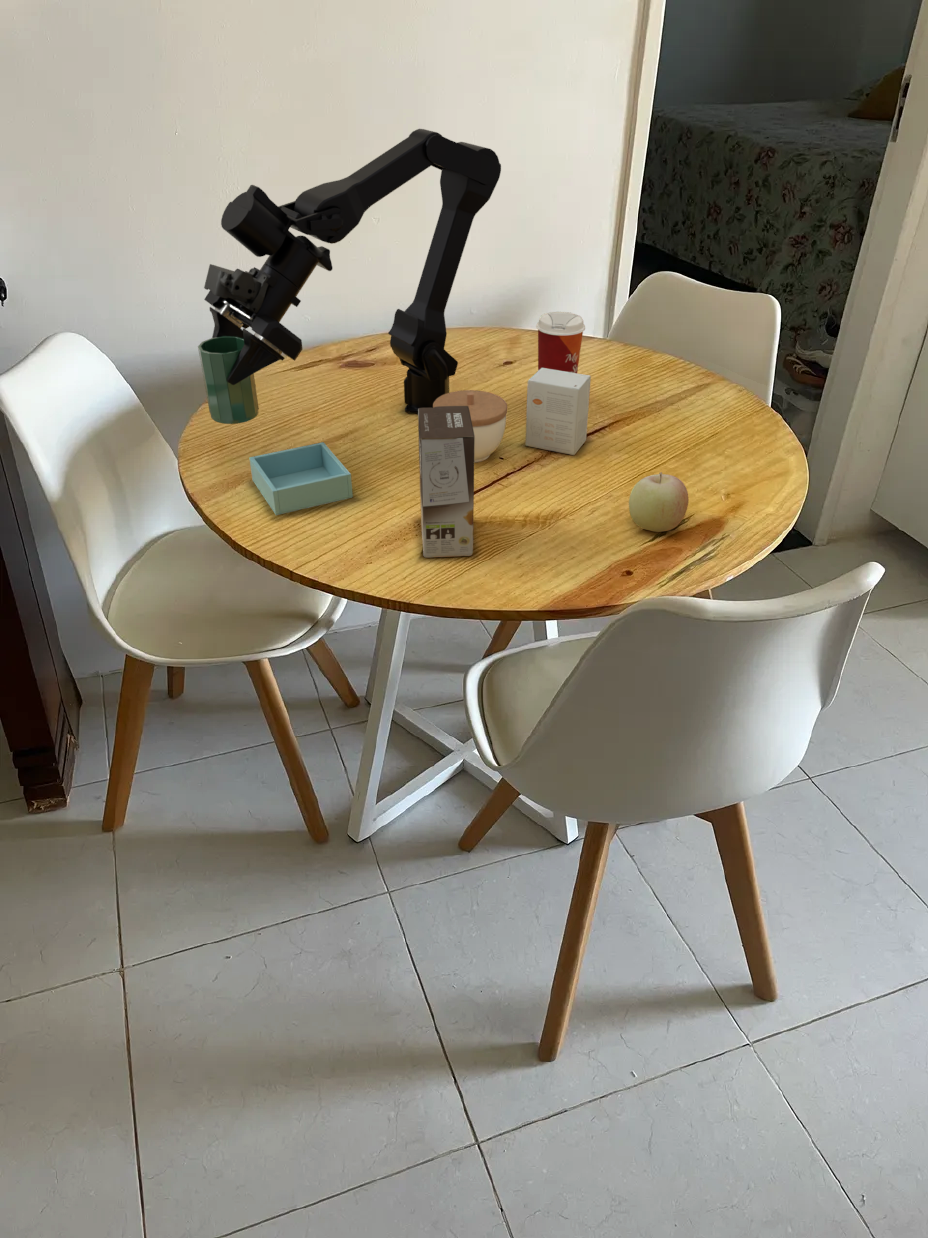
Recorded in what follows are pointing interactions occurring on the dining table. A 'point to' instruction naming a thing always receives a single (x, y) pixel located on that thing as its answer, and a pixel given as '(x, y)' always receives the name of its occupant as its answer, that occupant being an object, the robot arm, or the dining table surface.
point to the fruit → (658, 502)
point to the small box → (557, 410)
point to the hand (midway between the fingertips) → (218, 374)
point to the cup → (221, 395)
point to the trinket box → (480, 418)
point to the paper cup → (559, 341)
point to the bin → (300, 478)
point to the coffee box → (446, 480)
